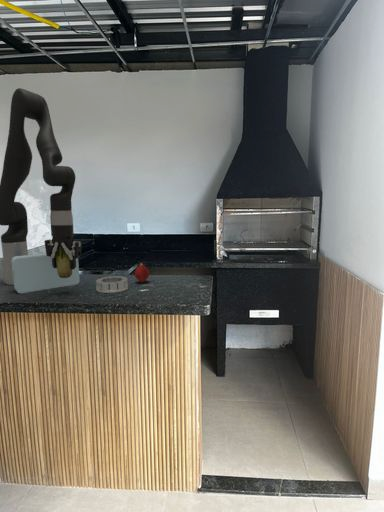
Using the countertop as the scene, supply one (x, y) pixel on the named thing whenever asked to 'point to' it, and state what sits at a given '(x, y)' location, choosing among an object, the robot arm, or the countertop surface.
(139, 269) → the onion
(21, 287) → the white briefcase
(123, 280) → the white low ring
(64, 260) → the fennel bulb
